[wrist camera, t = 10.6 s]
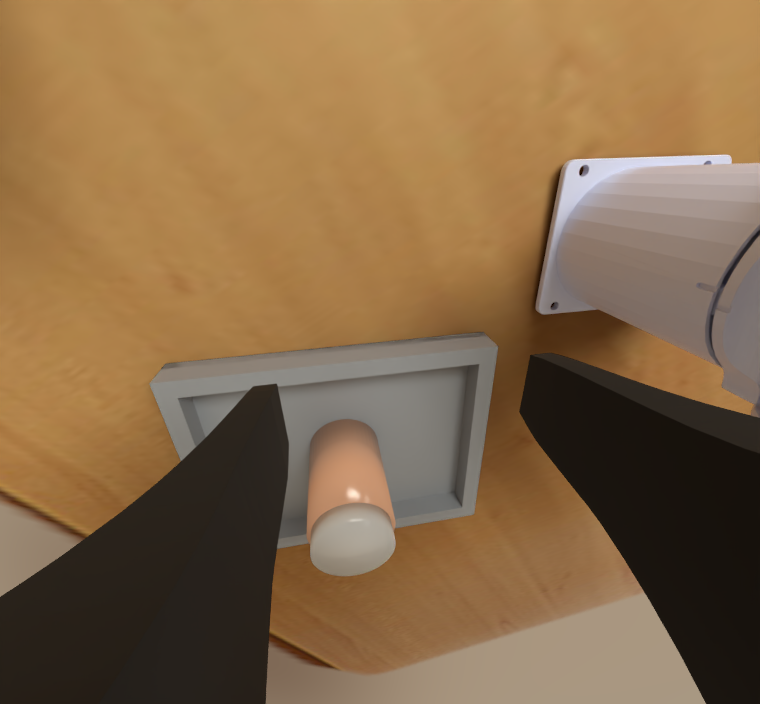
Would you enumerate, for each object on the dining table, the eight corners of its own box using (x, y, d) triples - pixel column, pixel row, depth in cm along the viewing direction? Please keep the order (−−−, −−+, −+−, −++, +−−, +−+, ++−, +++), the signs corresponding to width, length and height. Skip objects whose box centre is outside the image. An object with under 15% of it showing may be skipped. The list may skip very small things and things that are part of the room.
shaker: (370, 411, 21) (391, 508, 15) (383, 461, 23) (406, 564, 17) (300, 429, 21) (293, 534, 15) (319, 478, 23) (320, 587, 17)
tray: (482, 331, 21) (498, 346, 19) (463, 492, 27) (473, 514, 25) (165, 363, 18) (149, 383, 17) (227, 531, 25) (220, 558, 23)
